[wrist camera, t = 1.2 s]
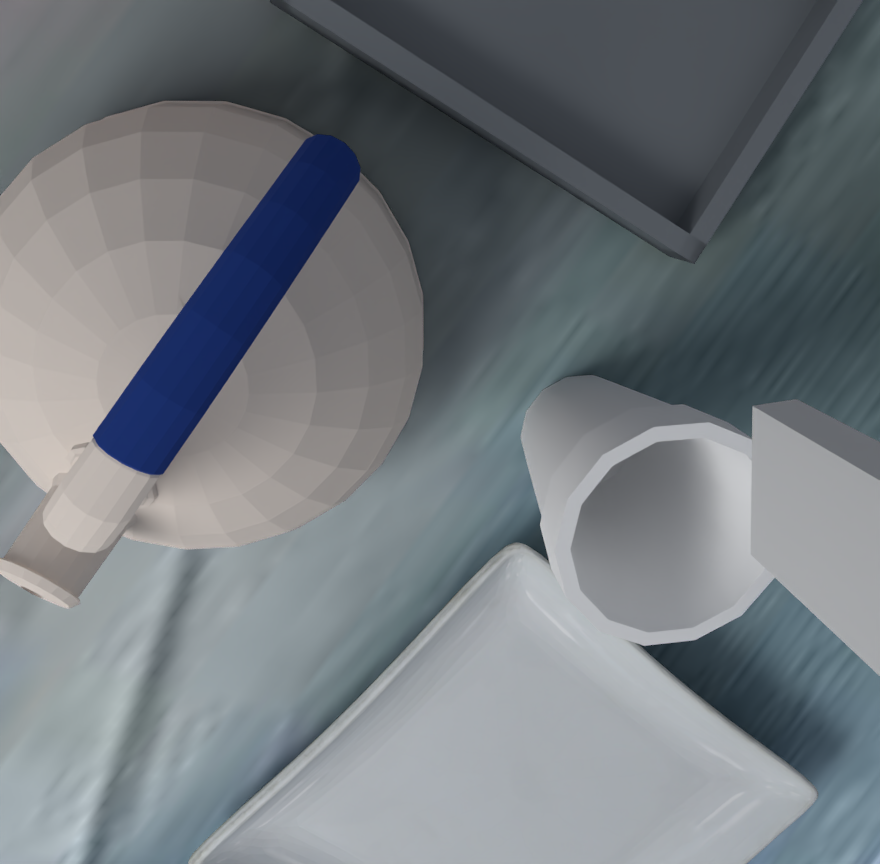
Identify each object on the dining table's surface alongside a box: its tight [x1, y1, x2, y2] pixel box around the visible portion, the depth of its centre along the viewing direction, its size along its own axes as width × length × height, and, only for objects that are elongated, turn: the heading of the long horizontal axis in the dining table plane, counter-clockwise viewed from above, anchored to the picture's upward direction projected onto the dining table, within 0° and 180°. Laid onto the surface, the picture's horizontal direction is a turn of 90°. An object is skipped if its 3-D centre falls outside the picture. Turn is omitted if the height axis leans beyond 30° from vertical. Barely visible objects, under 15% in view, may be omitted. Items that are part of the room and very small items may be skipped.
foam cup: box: [521, 375, 775, 646], centre depth 38 cm, size 10×9×13 cm
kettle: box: [0, 101, 424, 608], centre depth 31 cm, size 20×21×18 cm
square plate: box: [188, 543, 818, 864], centre depth 49 cm, size 27×27×4 cm
